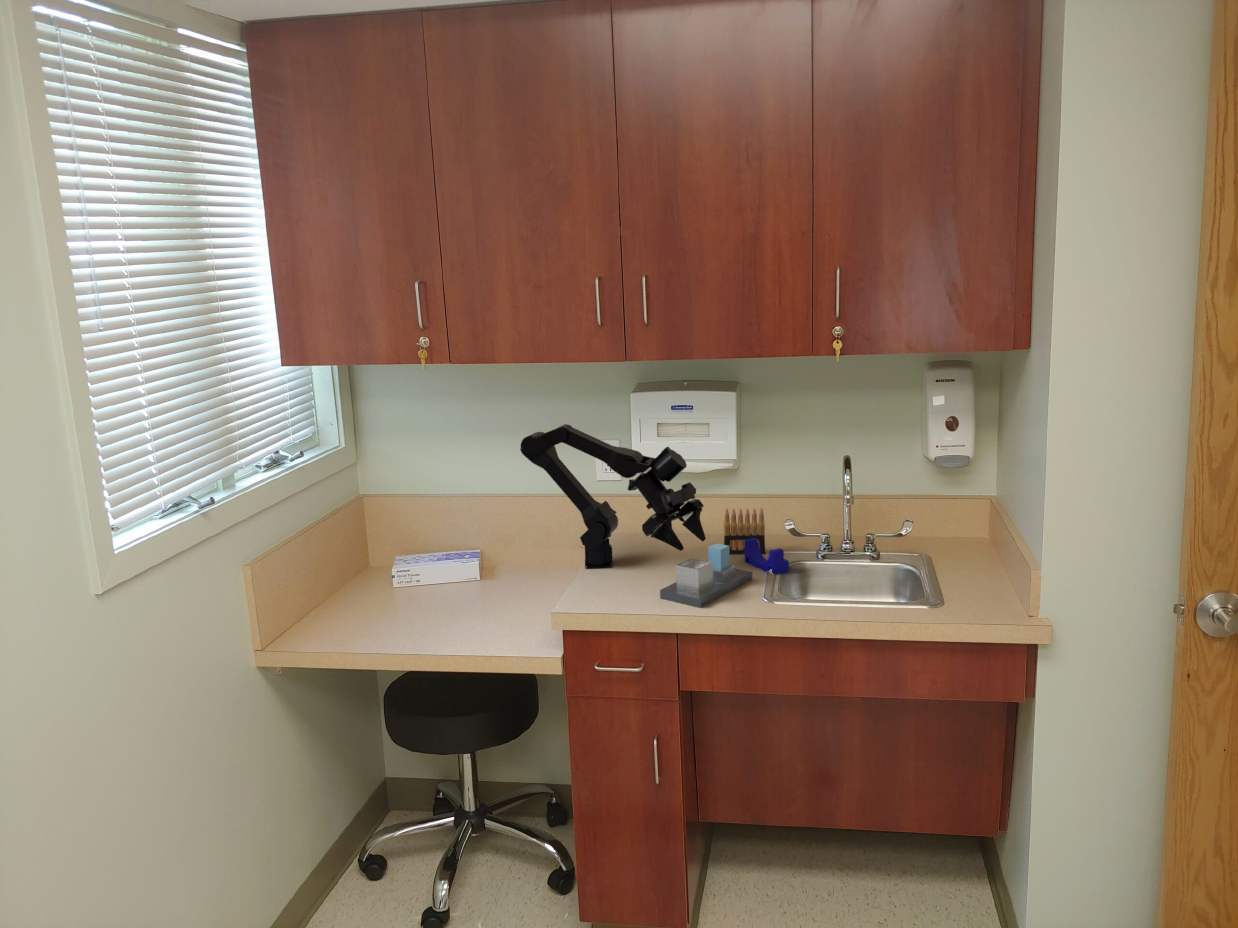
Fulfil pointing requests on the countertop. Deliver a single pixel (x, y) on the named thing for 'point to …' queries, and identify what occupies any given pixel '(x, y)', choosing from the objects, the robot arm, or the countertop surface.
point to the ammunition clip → (743, 531)
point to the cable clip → (757, 559)
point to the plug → (719, 556)
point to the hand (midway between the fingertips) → (693, 544)
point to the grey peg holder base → (703, 583)
